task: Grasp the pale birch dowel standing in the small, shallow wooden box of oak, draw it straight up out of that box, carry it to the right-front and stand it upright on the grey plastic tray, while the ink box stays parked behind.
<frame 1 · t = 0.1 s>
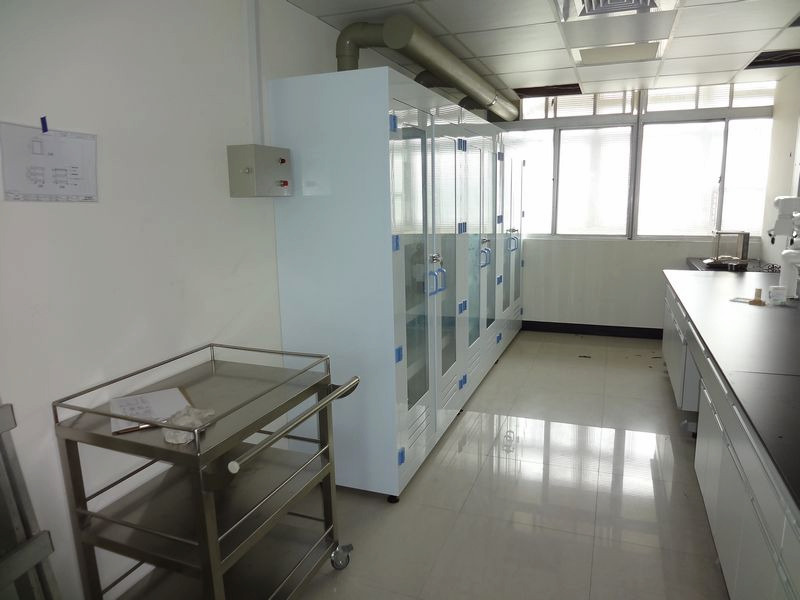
hand: (781, 244, 340), 37 cm above the worktop, tool pointing down, fingers open, 9 cm apart
shallow wooden box: (756, 305, 338), on the worktop
ink box: (776, 305, 338), on the worktop
tray: (742, 301, 349), on the worktop
dowel: (757, 304, 338), point 1 cm above the worktop, touching shallow wooden box
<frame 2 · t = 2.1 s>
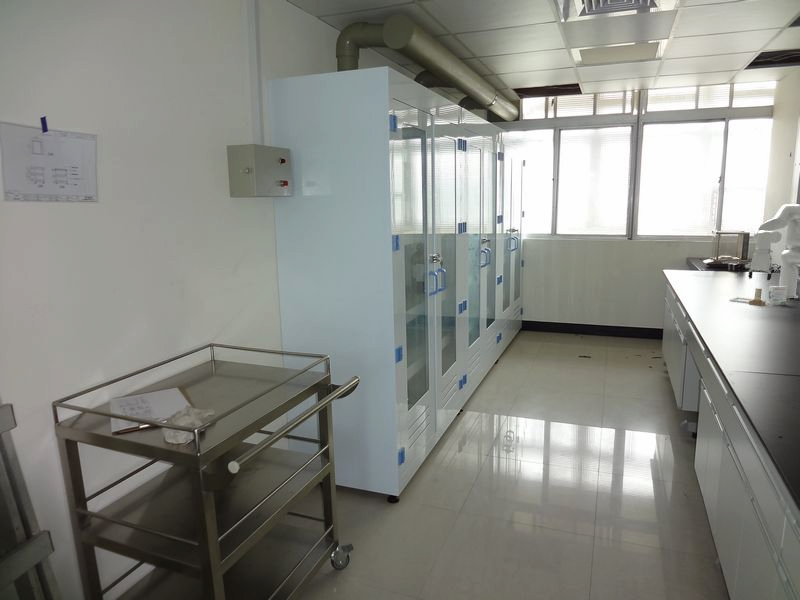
hand: (759, 279, 335), 16 cm above the worktop, tool pointing down, fingers open, 9 cm apart
nothing on the worktop moved.
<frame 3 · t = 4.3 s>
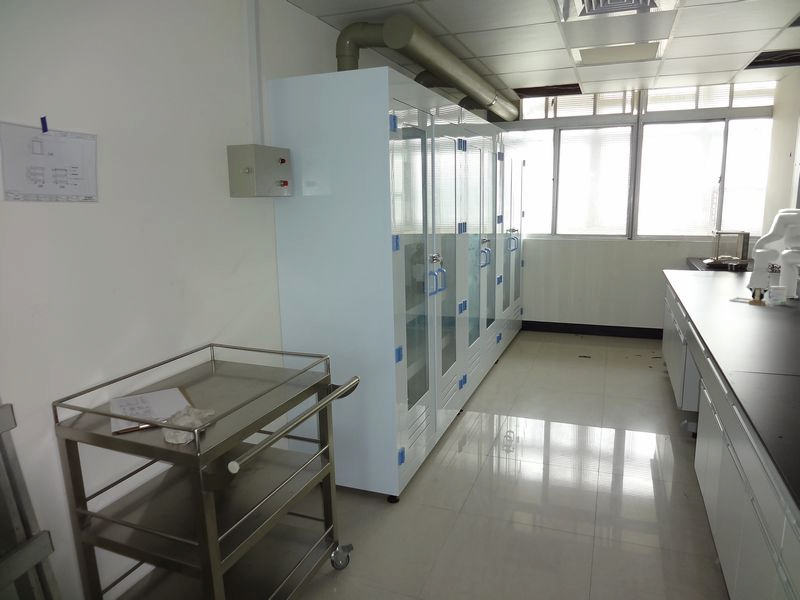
hand: (757, 299, 337), 4 cm above the worktop, tool pointing down, fingers closed on dowel, 3 cm apart
dowel: (757, 304, 338), point 1 cm above the worktop, touching shallow wooden box, gripper
everything else where it was.
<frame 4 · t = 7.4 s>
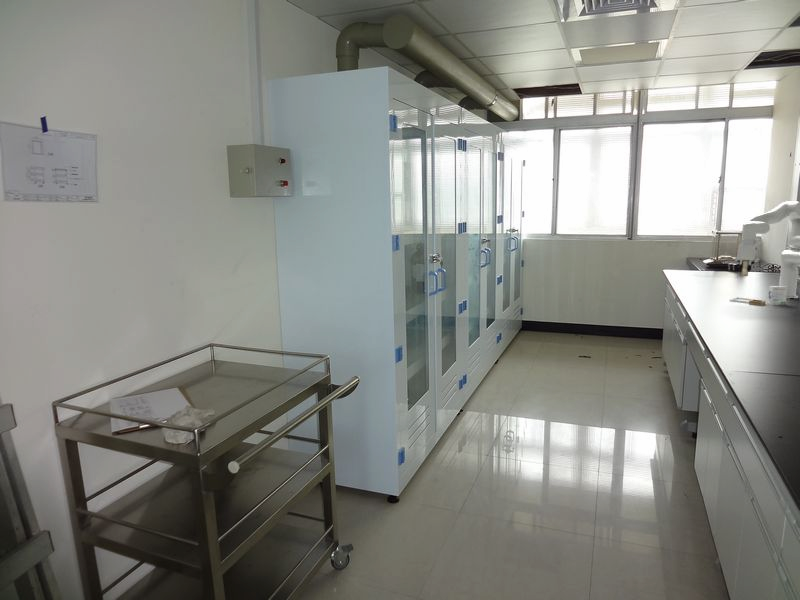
hand: (745, 270, 346), 20 cm above the worktop, tool pointing down, fingers closed on dowel, 3 cm apart
dowel: (744, 275, 346), point 17 cm above the worktop, touching gripper
everything else where it was.
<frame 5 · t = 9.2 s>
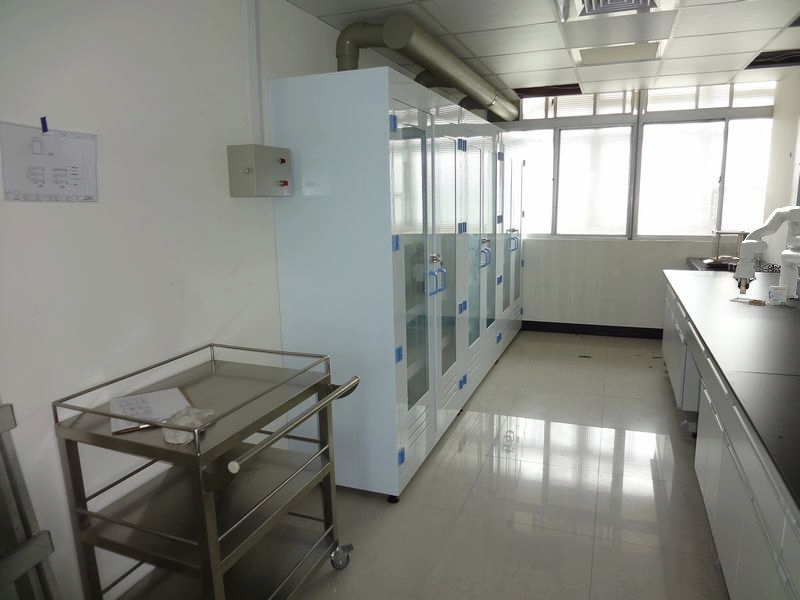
hand: (743, 288, 348), 9 cm above the worktop, tool pointing down, fingers closed on dowel, 3 cm apart
dowel: (742, 293, 348), point 5 cm above the worktop, touching gripper
everything else where it was.
when the fingers open (5 cm above the worktop, at t = 10.7 s): dowel drops 1 cm, resting on tray.
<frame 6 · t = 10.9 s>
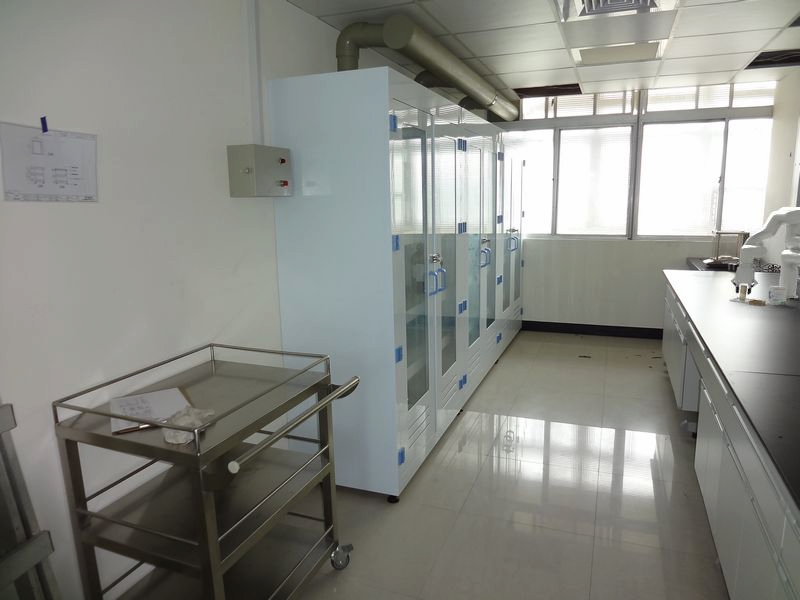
hand: (743, 293, 348), 6 cm above the worktop, tool pointing down, fingers open, 5 cm apart
dowel: (742, 300, 349), point 1 cm above the worktop, touching tray
everything else where it was.
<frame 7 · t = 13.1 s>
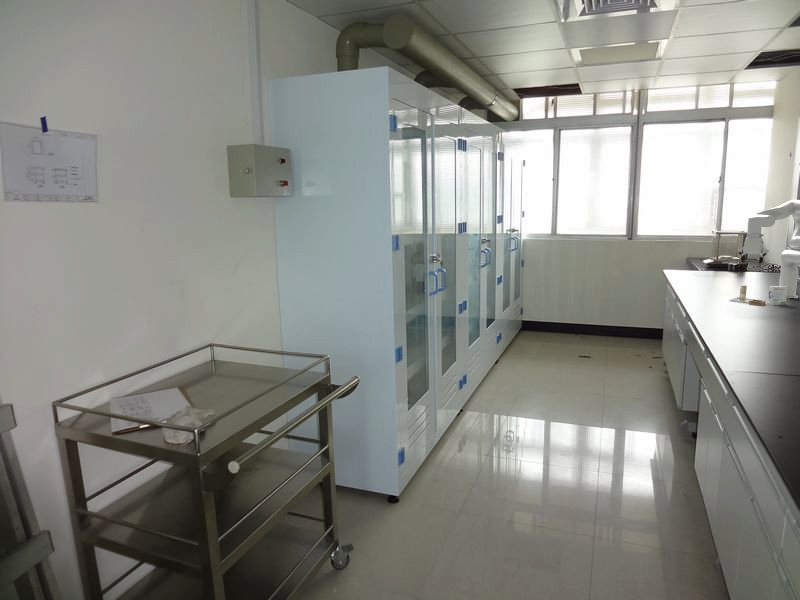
hand: (751, 262, 346), 25 cm above the worktop, tool pointing down, fingers open, 9 cm apart
nothing on the worktop moved.
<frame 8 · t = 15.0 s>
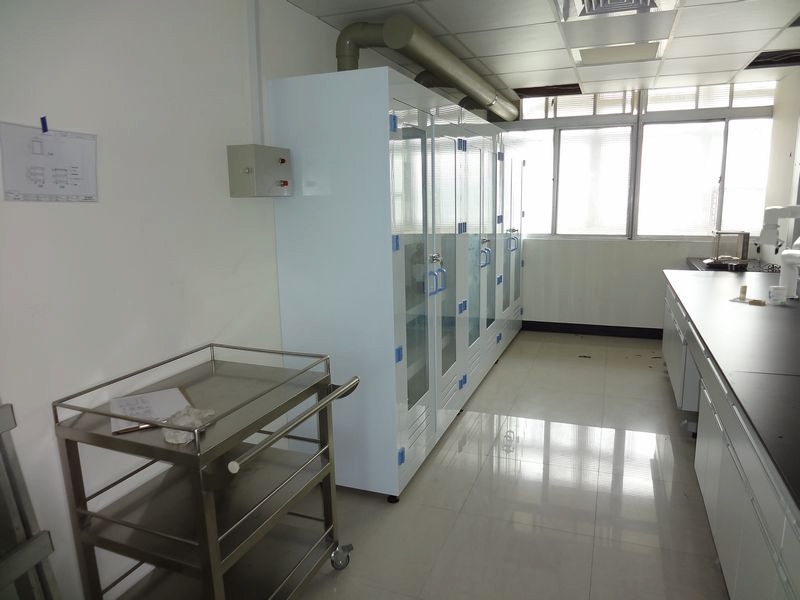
hand: (767, 253, 348), 30 cm above the worktop, tool pointing down, fingers open, 9 cm apart
nothing on the worktop moved.
at the end: dowel inside the target area on the tray (0.0 cm from its centre), point 0.6 cm above the tray's base; dowel tilted 0°; the gripper is holding nothing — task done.
